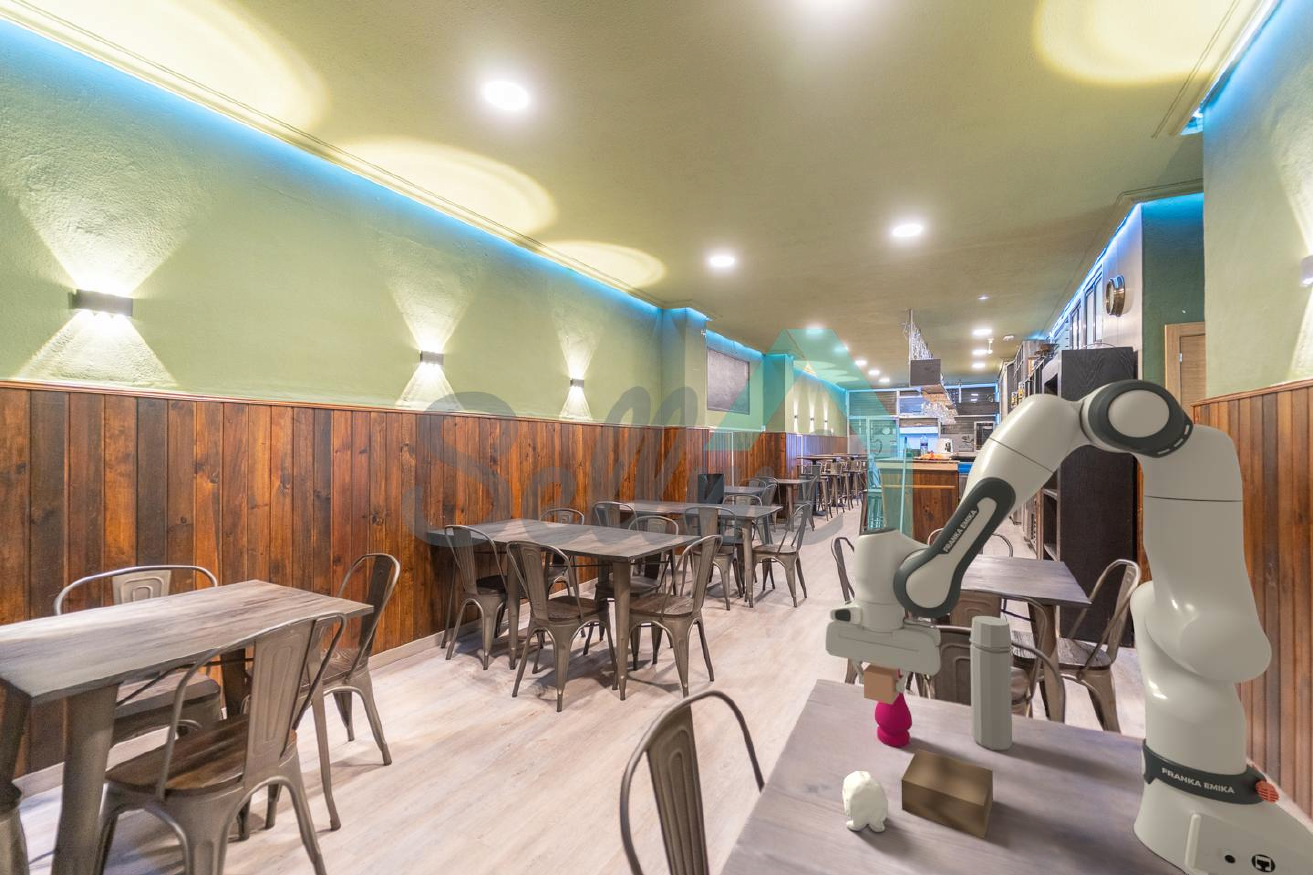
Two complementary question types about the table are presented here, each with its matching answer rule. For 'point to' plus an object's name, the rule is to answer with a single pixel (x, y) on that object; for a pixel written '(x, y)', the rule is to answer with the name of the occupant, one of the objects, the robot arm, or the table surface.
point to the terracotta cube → (880, 683)
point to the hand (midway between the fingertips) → (881, 687)
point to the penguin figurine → (864, 801)
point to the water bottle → (991, 682)
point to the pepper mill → (894, 721)
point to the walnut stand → (948, 792)
